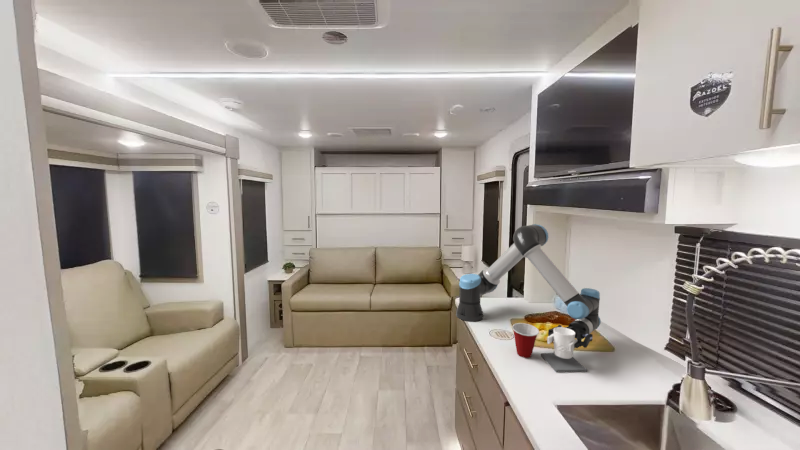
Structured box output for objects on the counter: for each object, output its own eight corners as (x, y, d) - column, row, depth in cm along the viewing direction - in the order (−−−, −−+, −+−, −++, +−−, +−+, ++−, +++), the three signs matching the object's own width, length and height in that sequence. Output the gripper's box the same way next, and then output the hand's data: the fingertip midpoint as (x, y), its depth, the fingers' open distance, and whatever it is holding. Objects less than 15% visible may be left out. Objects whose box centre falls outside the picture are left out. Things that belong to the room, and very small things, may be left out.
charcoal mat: (540, 355, 134) (540, 353, 134) (568, 355, 134) (568, 352, 134) (556, 372, 121) (556, 369, 121) (586, 371, 122) (587, 369, 121)
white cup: (562, 361, 123) (563, 336, 122) (548, 351, 130) (548, 328, 129) (578, 358, 125) (580, 333, 124) (563, 349, 132) (564, 326, 132)
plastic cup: (520, 362, 128) (521, 334, 127) (506, 350, 139) (507, 324, 138) (543, 360, 130) (544, 332, 129) (528, 347, 141) (529, 322, 140)
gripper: (556, 313, 146) (533, 327, 131) (607, 327, 131) (587, 344, 116) (556, 329, 147) (533, 344, 132) (606, 344, 131) (586, 363, 116)
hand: (558, 344), depth 124 cm, fingers closed on white cup, 8 cm apart
